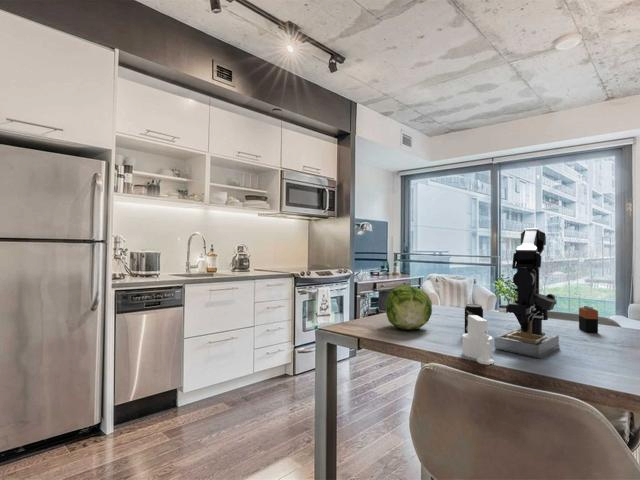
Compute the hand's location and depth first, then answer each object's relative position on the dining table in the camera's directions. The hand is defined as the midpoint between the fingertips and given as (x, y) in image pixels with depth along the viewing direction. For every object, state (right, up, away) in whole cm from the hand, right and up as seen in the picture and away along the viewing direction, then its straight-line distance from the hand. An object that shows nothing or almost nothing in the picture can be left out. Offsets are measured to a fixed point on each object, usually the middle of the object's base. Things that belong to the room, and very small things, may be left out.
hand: (526, 331), depth 128 cm
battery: (+39, -6, +25) cm, 47 cm away
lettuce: (-33, -6, +28) cm, 44 cm away
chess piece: (-20, -6, -14) cm, 25 cm away
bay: (+1, -6, +1) cm, 6 cm away
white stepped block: (-19, -6, -6) cm, 21 cm away
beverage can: (-11, -6, +17) cm, 21 cm away
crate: (0, -5, 0) cm, 5 cm away
